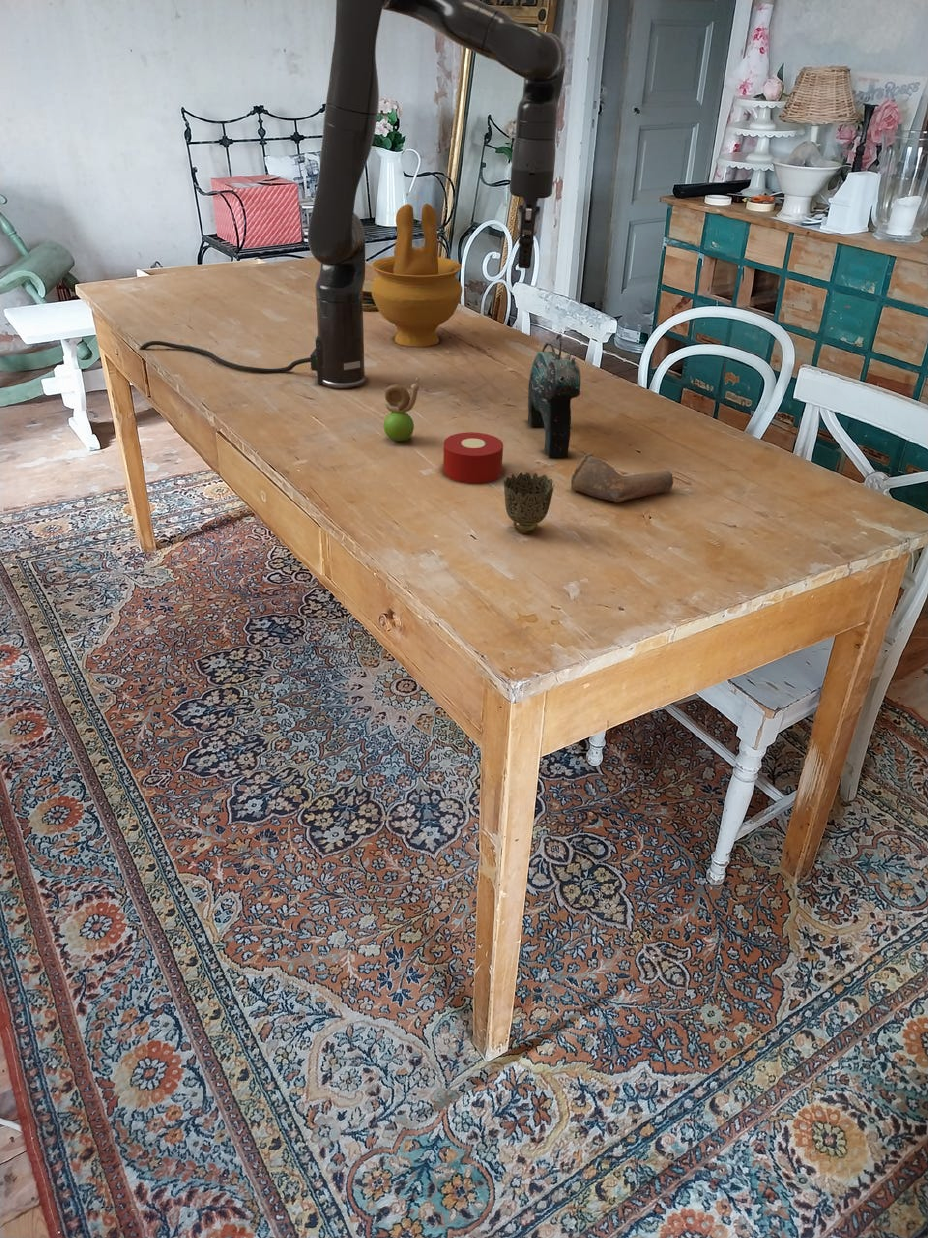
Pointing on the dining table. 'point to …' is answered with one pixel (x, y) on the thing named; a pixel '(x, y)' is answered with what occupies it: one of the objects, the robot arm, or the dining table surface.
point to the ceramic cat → (553, 398)
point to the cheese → (472, 457)
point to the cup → (527, 500)
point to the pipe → (617, 481)
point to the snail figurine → (399, 411)
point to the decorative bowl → (416, 282)
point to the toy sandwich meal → (368, 297)
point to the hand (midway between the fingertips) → (524, 262)
